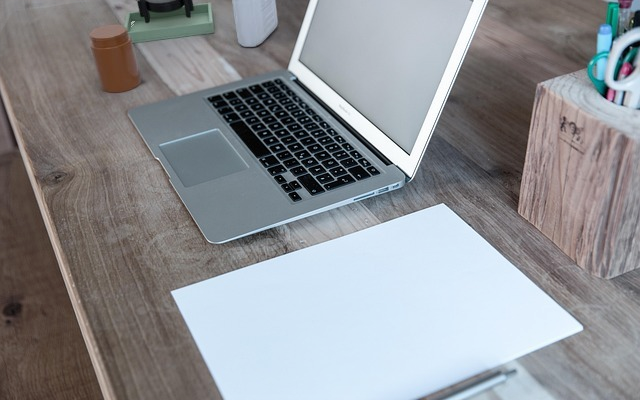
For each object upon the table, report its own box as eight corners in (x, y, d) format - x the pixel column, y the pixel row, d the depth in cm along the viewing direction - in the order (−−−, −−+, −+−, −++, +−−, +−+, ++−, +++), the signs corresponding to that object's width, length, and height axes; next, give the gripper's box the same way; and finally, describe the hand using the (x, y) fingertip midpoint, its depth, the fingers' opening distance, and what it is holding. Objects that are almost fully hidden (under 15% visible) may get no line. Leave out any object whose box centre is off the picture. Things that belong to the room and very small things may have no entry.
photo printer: (258, 23, 124) (249, -49, 117) (281, 25, 123) (273, -48, 116) (235, 47, 116) (223, -28, 109) (259, 49, 115) (249, -28, 108)
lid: (191, 6, 122) (189, -4, 121) (156, 15, 120) (154, 6, 119) (174, -4, 127) (173, -13, 126) (141, 6, 124) (139, -4, 123)
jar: (99, 95, 105) (85, 41, 100) (103, 78, 110) (89, 26, 105) (140, 89, 106) (127, 36, 101) (142, 72, 111) (129, 21, 106)
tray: (125, 44, 121) (122, 33, 120) (129, 22, 129) (126, 12, 128) (214, 32, 122) (212, 22, 121) (212, 12, 130) (211, 2, 129)
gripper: (200, -101, 118) (217, 4, 128) (94, -89, 116) (120, 16, 127) (201, -90, 112) (218, 19, 122) (89, -78, 110) (116, 31, 121)
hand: (168, 16), depth 124 cm, fingers closed on lid, 6 cm apart
